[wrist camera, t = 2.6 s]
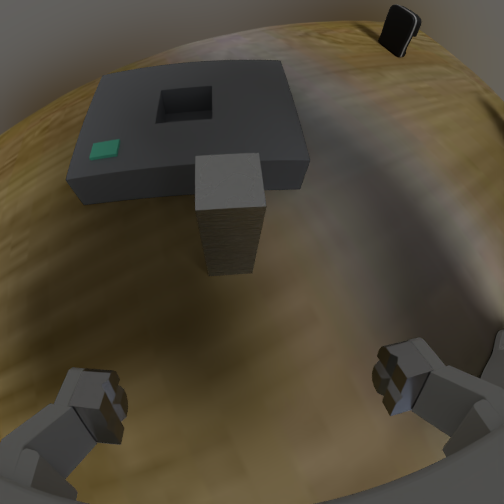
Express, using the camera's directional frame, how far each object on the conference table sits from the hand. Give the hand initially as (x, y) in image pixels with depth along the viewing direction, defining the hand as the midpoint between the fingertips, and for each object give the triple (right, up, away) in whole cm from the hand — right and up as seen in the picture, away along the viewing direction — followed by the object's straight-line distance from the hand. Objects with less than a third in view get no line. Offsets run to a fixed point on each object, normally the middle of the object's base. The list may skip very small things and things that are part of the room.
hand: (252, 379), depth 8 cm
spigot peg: (-2, +4, +20) cm, 21 cm away
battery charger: (+30, +47, +41) cm, 70 cm away
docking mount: (-8, +18, +26) cm, 33 cm away
